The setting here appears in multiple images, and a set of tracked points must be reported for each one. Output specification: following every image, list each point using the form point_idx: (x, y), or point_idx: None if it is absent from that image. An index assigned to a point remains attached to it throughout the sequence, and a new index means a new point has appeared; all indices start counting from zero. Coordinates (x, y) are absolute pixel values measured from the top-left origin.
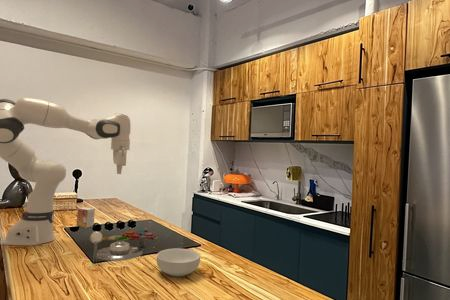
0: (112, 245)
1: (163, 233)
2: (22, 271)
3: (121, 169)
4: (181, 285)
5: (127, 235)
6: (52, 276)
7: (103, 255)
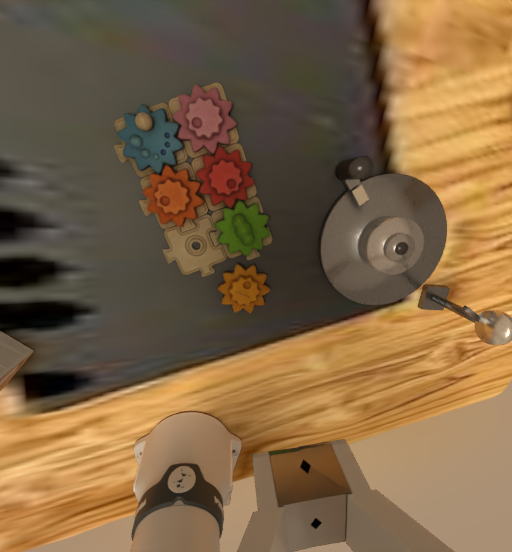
0: (400, 268)
1: (134, 32)
2: (405, 414)
3: (402, 512)
4: None
5: (194, 208)
6: (450, 364)
7: (394, 283)
